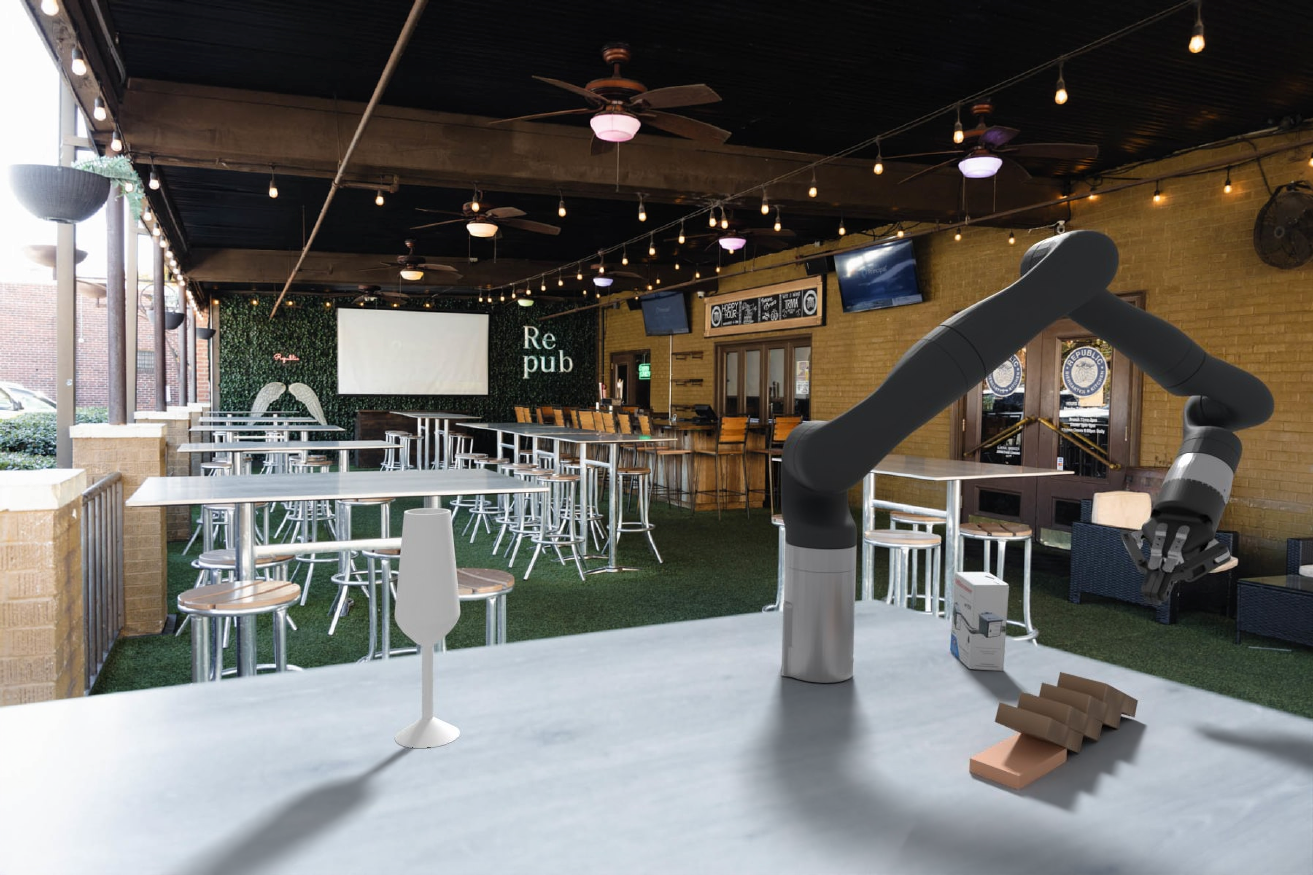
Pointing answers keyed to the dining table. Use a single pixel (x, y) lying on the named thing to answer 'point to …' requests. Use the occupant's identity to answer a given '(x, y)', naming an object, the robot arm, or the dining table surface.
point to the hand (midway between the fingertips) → (1152, 600)
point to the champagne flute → (427, 608)
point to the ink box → (979, 620)
